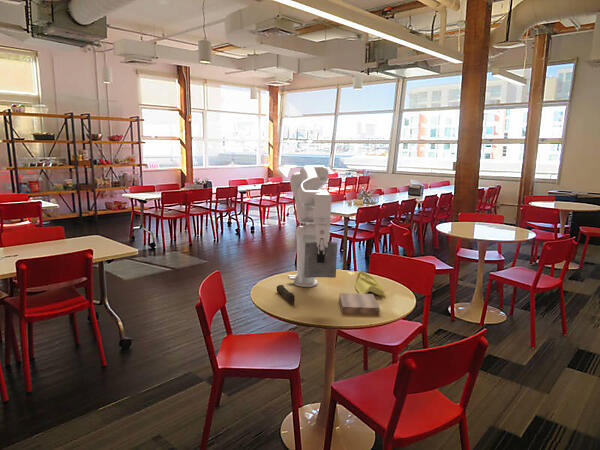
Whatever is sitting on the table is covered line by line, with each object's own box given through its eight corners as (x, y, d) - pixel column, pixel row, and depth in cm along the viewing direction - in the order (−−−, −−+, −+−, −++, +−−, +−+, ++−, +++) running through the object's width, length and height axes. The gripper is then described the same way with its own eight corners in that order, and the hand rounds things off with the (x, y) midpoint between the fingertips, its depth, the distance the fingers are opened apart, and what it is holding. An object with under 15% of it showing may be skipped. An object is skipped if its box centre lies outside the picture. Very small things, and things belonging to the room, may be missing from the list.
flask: (303, 275, 187) (304, 236, 183) (335, 275, 188) (336, 236, 184) (304, 277, 183) (305, 238, 180) (336, 277, 184) (338, 238, 181)
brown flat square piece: (342, 313, 179) (342, 306, 179) (339, 299, 196) (339, 293, 195) (379, 314, 179) (379, 307, 179) (372, 299, 196) (373, 294, 195)
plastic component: (386, 292, 201) (369, 284, 198) (378, 304, 202) (361, 297, 200) (373, 276, 220) (357, 269, 217) (366, 288, 221) (350, 281, 218)
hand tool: (276, 292, 204) (276, 283, 203) (283, 291, 205) (284, 282, 204) (288, 306, 186) (288, 297, 185) (296, 305, 187) (296, 296, 187)
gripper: (331, 224, 172) (329, 267, 176) (329, 217, 188) (327, 256, 192) (313, 224, 172) (312, 266, 176) (313, 217, 189) (311, 256, 192)
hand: (320, 260), depth 184 cm, fingers closed on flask, 3 cm apart
